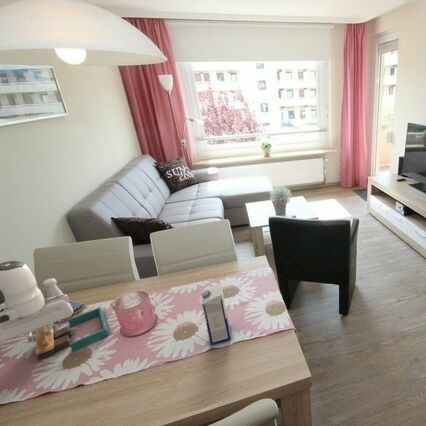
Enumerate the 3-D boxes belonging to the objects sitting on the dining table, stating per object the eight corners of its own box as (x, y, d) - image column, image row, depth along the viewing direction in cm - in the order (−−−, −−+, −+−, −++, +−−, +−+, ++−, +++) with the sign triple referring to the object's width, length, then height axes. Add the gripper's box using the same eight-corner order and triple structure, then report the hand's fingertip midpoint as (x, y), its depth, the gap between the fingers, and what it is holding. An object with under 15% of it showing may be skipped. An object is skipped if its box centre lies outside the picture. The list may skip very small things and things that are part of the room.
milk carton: (230, 340, 105) (221, 294, 98) (211, 345, 103) (200, 299, 96) (229, 326, 112) (220, 282, 104) (210, 331, 110) (200, 287, 102)
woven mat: (69, 303, 130) (68, 299, 129) (87, 306, 127) (85, 303, 126) (43, 319, 120) (41, 315, 120) (62, 323, 118) (60, 319, 117)
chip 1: (58, 342, 108) (55, 337, 107) (55, 337, 111) (53, 332, 110) (71, 335, 111) (69, 330, 110) (69, 331, 113) (66, 326, 112)
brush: (39, 359, 100) (31, 343, 98) (40, 340, 109) (32, 325, 106) (55, 352, 103) (48, 336, 100) (55, 334, 111) (48, 319, 109)
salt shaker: (47, 308, 127) (35, 283, 122) (60, 300, 132) (49, 276, 127) (58, 309, 126) (47, 284, 121) (71, 301, 131) (60, 276, 126)
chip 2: (56, 351, 104) (53, 346, 103) (56, 345, 107) (53, 340, 106) (70, 345, 106) (68, 340, 105) (70, 339, 109) (67, 334, 108)
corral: (72, 351, 104) (69, 344, 103) (70, 325, 116) (67, 319, 115) (108, 335, 110) (106, 329, 109) (102, 312, 123) (100, 306, 122)
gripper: (66, 288, 108) (78, 318, 113) (-14, 314, 95) (4, 346, 100) (66, 295, 103) (79, 326, 108) (-17, 324, 91) (2, 357, 96)
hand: (43, 336), depth 104 cm, fingers closed on brush, 2 cm apart
